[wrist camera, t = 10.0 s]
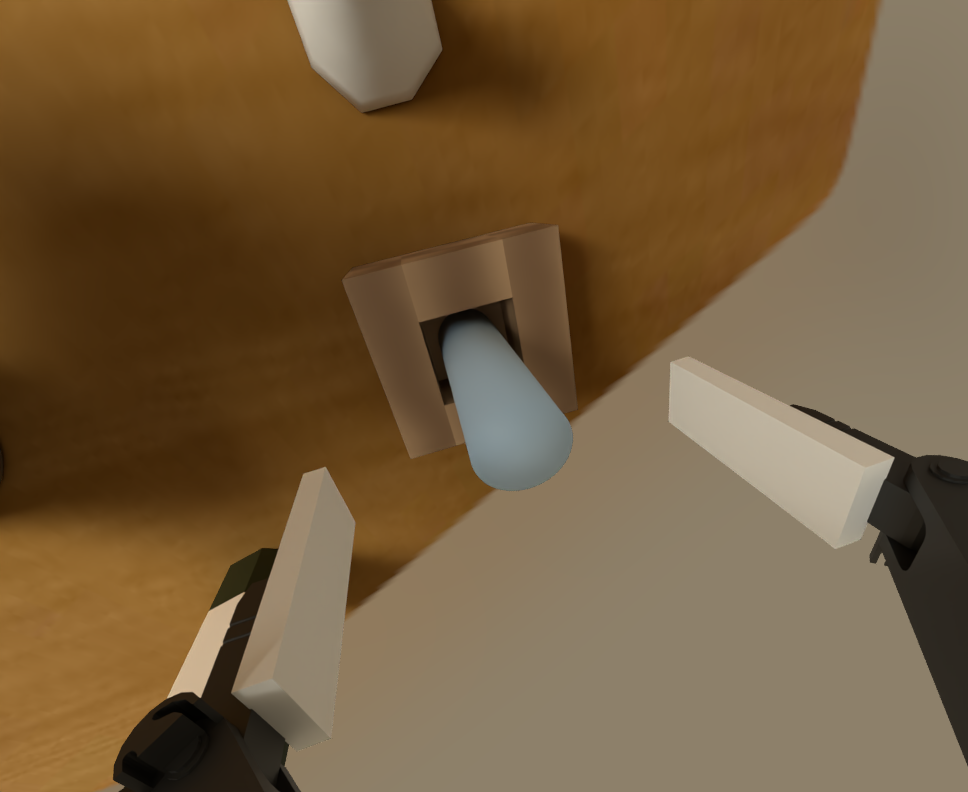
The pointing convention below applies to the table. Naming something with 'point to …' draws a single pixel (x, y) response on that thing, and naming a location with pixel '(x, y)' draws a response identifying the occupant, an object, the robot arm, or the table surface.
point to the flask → (369, 46)
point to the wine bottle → (222, 623)
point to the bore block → (453, 288)
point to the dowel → (501, 406)
